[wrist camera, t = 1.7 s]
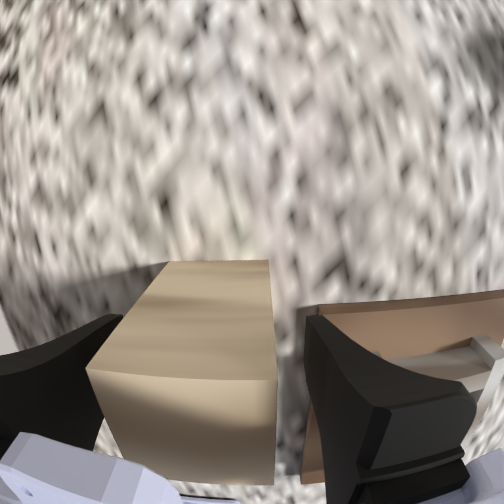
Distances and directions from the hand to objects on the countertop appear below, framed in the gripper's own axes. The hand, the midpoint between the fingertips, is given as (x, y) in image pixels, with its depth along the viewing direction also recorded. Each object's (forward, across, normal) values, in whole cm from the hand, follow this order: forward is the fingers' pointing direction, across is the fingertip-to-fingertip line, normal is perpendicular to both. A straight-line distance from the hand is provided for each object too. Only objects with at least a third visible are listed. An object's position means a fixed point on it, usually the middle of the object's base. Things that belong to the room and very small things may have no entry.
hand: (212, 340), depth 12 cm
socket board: (+3, -10, +7) cm, 13 cm away
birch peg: (+3, 0, 0) cm, 3 cm away
